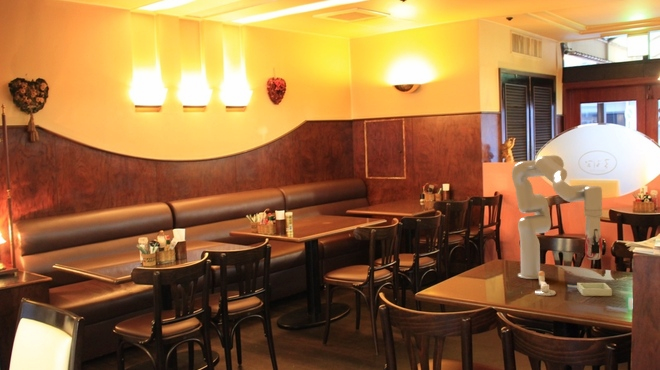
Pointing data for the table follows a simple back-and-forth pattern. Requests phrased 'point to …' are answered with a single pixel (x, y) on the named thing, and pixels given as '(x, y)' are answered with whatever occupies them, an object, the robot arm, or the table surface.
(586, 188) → the robot arm
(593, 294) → the tray
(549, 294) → the crank base
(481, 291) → the table surface
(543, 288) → the crank
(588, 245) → the soda can
